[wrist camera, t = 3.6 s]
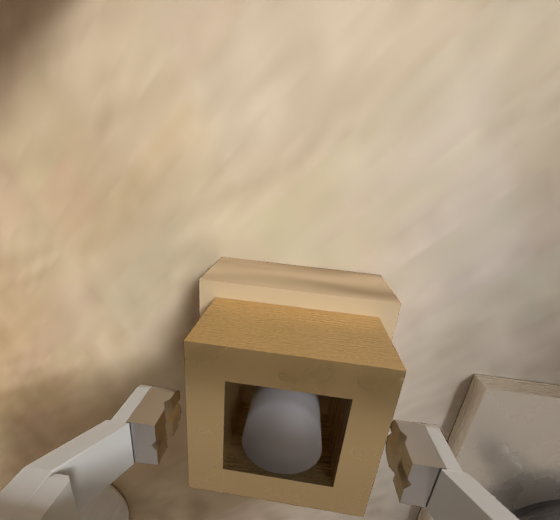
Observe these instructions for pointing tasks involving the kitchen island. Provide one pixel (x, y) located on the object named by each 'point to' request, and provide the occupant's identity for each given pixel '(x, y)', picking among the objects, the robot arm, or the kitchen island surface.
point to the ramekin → (106, 506)
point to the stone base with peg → (511, 444)
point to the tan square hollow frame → (295, 377)
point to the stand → (284, 403)
